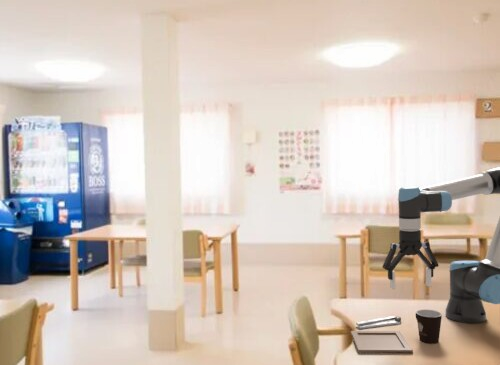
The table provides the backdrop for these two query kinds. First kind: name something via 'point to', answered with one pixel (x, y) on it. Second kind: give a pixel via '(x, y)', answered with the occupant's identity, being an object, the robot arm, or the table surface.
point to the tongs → (370, 323)
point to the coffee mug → (429, 325)
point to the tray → (381, 342)
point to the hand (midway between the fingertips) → (410, 287)
